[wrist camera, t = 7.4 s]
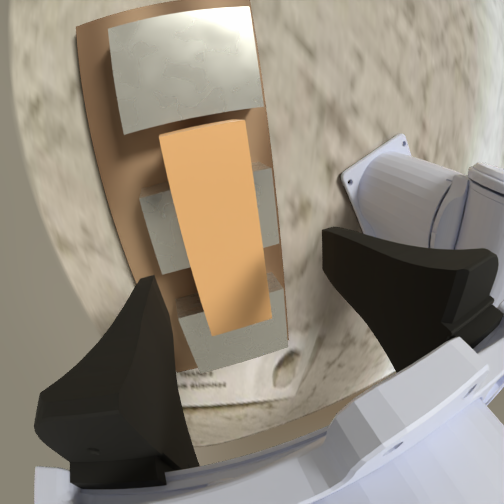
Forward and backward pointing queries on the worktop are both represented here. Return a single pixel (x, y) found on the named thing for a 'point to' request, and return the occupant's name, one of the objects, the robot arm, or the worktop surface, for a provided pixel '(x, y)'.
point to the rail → (189, 106)
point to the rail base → (154, 157)
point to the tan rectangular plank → (219, 221)
